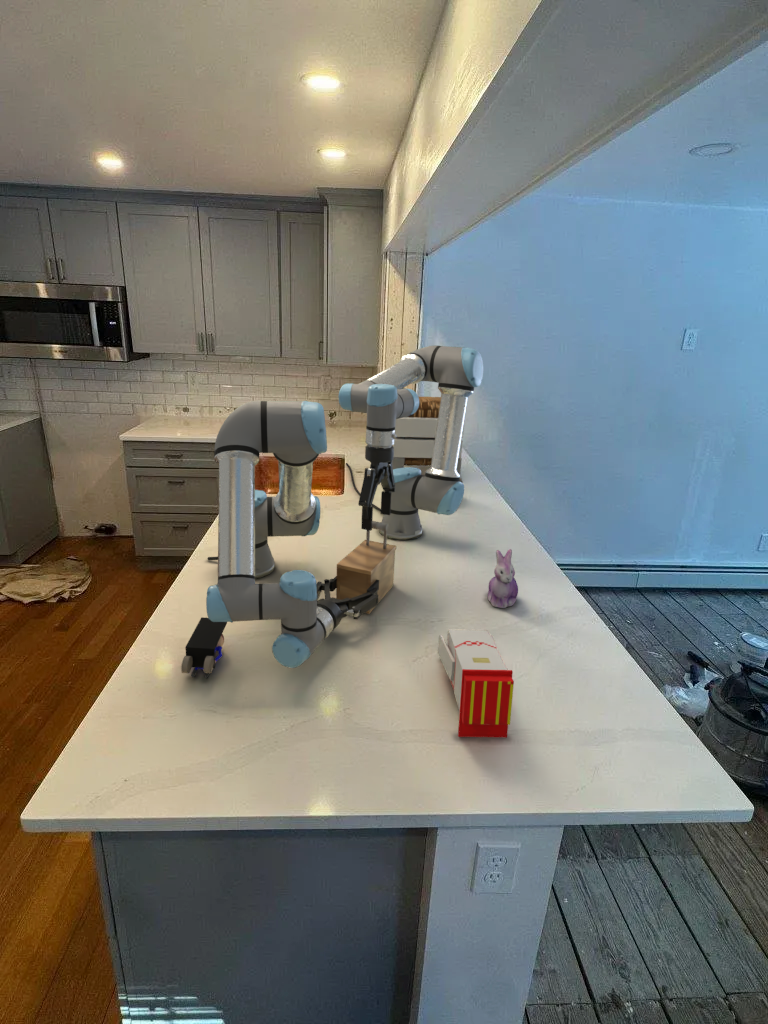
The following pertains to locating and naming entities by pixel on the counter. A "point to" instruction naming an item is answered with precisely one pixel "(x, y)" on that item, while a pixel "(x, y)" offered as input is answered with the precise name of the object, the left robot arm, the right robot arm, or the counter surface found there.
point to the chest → (365, 581)
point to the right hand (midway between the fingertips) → (376, 521)
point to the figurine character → (204, 647)
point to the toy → (478, 682)
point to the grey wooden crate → (418, 436)
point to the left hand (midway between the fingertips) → (359, 580)
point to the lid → (368, 553)
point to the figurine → (503, 582)
